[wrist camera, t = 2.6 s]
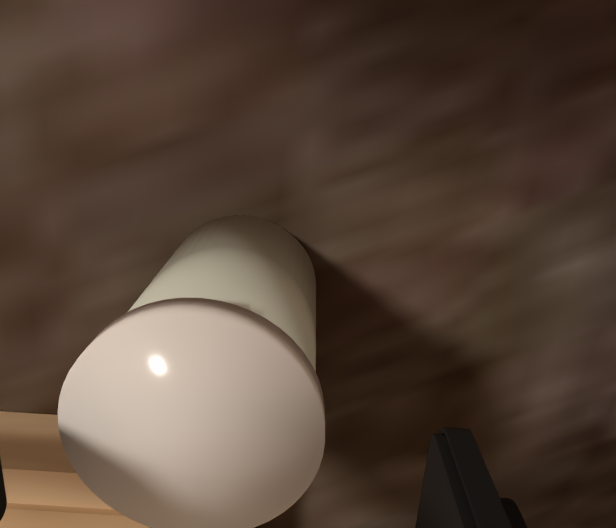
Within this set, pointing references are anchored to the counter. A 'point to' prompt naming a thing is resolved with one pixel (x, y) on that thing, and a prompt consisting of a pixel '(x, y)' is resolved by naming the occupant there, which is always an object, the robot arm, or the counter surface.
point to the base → (46, 479)
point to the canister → (204, 386)
